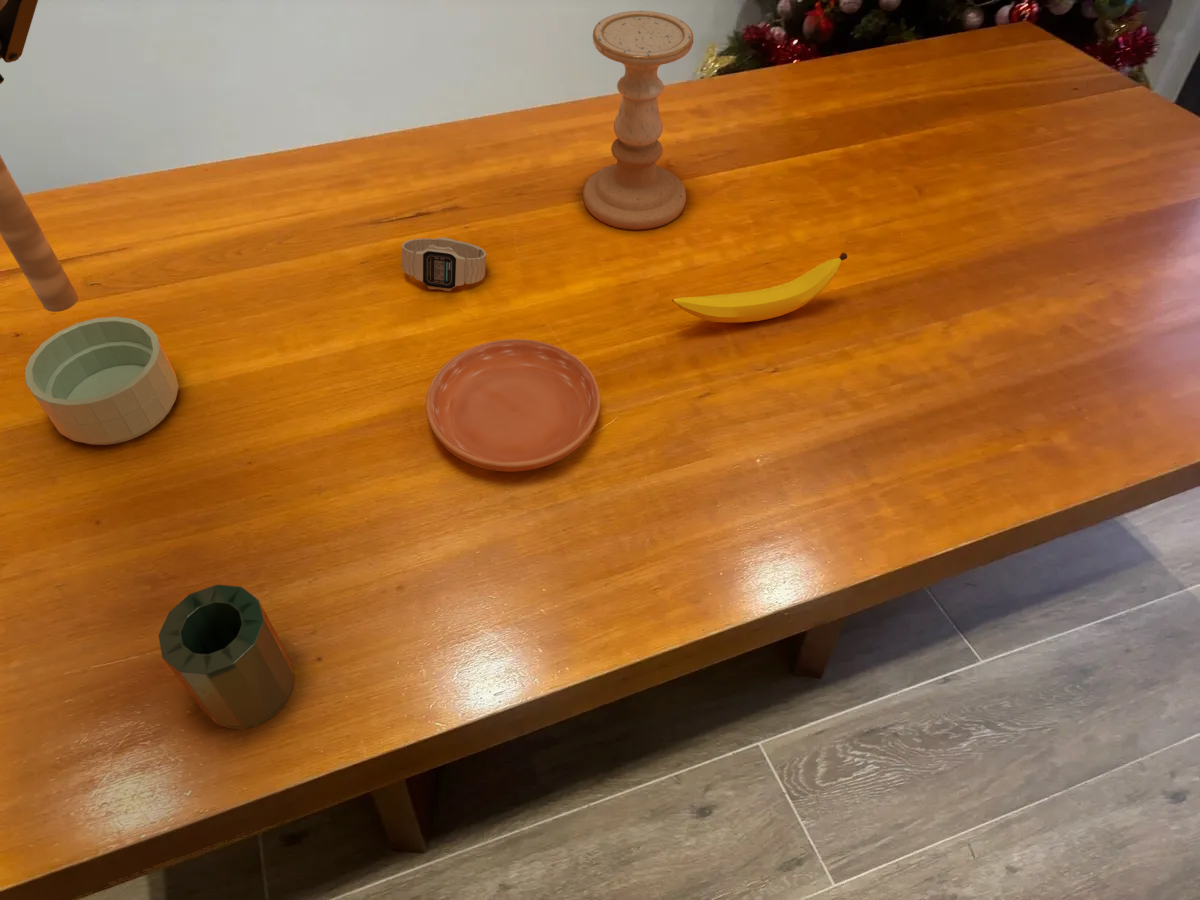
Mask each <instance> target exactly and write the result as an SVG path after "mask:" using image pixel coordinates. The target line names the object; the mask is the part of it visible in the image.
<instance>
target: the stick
mask: <svg viewBox="0 0 1200 900" xmlns="http://www.w3.org/2000/svg"><path fill="white" fill-rule="evenodd" d="M0 236H1V238H2V240H3V241H4V243H5V244H6V246H7V248H8V250H9V251H10V253H11V254H12V256H13V258H14V260H15V261H16V263H17V265H18V267H19V268H20V270H21V272H22V273H23V274H24V276H25V278H26V280H27V281H28V283H29V285H30V287H31V288H32V290H33V292H34V293H35V295H36V297H37V298H38V300H39V302H40V303H41V305H42V306H43V308H44V309H45V310H46V311H48V312H51V313H59V312H63V311H66V310H69V309H71V308H72V307H74V306H75V305H76V304H77V302H78V300H79V294H78V293H77V292H76V289H75V288H74V286H73V284H72V282H71V280H70V278H69V276H68V275H67V273H66V271H65V269H64V267H63V266H62V264H61V262H60V261H59V259H58V257H57V255H56V253H55V252H54V250H53V248H52V246H51V244H50V242H49V241H48V239H47V237H46V236H45V233H44V232H43V230H42V228H41V226H40V224H39V222H38V221H37V218H36V216H35V215H34V214H33V212H32V210H31V208H30V206H29V204H28V203H27V200H26V199H25V197H24V195H23V193H22V192H21V190H20V188H19V186H18V185H17V182H16V181H15V179H14V177H13V175H12V174H11V172H10V169H8V167H7V165H6V163H5V160H4V159H3V157H2V156H1V155H0Z"/></svg>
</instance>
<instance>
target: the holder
mask: <svg viewBox="0 0 1200 900" xmlns="http://www.w3.org/2000/svg"><path fill="white" fill-rule="evenodd" d="M158 643H159V647H160V654H161V658H162V660H163V661H164V662H165V664H166V665H167V666H168V667H169V668H170V670H171V671H172V672H173V674H174V675H175V676H176V678H177V679H178V681H179V682H180V683H181V685H182V686H183V687H184V688H185V690H186V691H187V692H188V694H189V695H190V696H191V698H192V699H193V700H194V701H195V703H196V704H197V706H199V708H200V709H201V710H202V712H203V713H204V714H206V715H207V716H208V718H209V719H210V720H212V722H214V724H216V725H218V726H220V727H223V728H226V729H231V730H246V729H251V728H255V727H257V726H260V725H262V724H264V723H266V722H268V721H269V720H270V719H272V718H273V717H274V716H276V715H277V714H278V713H279V712H280V711H281V710H282V709H283V708H284V707H285V705H286V704H287V702H288V700H289V699H290V697H291V695H292V693H293V690H294V686H295V672H294V668H293V665H292V663H291V660H290V657H289V654H288V653H287V651H286V649H285V647H284V644H283V643H282V641H281V639H280V637H279V636H278V634H277V632H276V630H275V628H274V626H273V624H272V622H271V621H270V618H269V616H268V615H267V612H266V611H265V609H264V607H263V604H261V601H260V599H259V598H257V597H256V596H255V595H253V594H252V593H251V592H249V591H248V590H246V589H245V588H244V587H242V586H237V585H227V584H214V585H211V586H208V587H206V588H203V589H200V590H196V591H194V592H191V593H189V594H188V595H187V596H185V597H184V598H182V600H181V601H179V603H177V604H176V605H175V606H174V607H173V608H172V609H170V610H169V611H168V613H167V614H166V617H165V620H164V622H163V623H162V626H161V629H160V630H159V633H158Z"/></svg>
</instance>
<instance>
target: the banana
mask: <svg viewBox="0 0 1200 900" xmlns="http://www.w3.org/2000/svg"><path fill="white" fill-rule="evenodd" d="M847 258H848V254H847V253H846V252H841V254H840V256H839V257H836V258H831V259H829V260H826V261H824V262H822V263H819V264H818V265H816V266H815V267H812V268H811V269H810V270H808V271H807V272H804V274H802V275H800V276H798V277H797V278H795V279H792V280H790V281H788V282H785V283H781V284H778V285H775V286H771V287H767V288H763V289H757V290H756V289H755V290H750V291H742V292H734V293H724V294H711V295H701V296H689V297H688V296H683V297H677V298H673V299H671V300H672V303H674V304H675V305H676V306H678V308H679V309H681V310H682V311H685V312H686V313H688V314H690V315H692V316H693V317H697V318H699V319H701V320H704V321H709V322H715V323H751V322H759V321H765V320H769V319H770V320H771V319H774V318H777V317H781V316H784V315H787V314H790V313H791V312H794V311H797V310H798V309H800V308H802V307H803V306H805V305H806V304H808V303H810V302H812V300H814V299H815V298H816V297H817V296H818V295H819V294H821V292H822V291H824V289H825V288H826V287H827V286H828V285H829V284H830V282H831V281H832V280H833V278H834V277H835V276H836V274H837V273H838V270H839V269H840V266H841V264H842V262H843V261H844V260H847Z"/></svg>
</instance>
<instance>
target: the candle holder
mask: <svg viewBox="0 0 1200 900" xmlns="http://www.w3.org/2000/svg"><path fill="white" fill-rule="evenodd" d="M592 32H593V33H592V42H593V43H592V44H593V45H594V47H595V49H596V50H597V51H598V52H599V53H600V54H601V55H602V56H603V57H606V58H608V59H609V60H612V61H614V62H617V63H621V64H622V65H624V75H623V76H621V77H620V78H619V80H618V81H617V83H616V90H617V91H618V93H620V95H621V101H620V105H619V109H618V111H617V114H616V117H615V120H614V122H613V132H614V135H615V137H616V138H615V139H614V141H613V142H612V144H611V147H610V149H611V150H610V151H611V154H612V156H613V158H615V160H616V163H614V164H610V165H607V166H604V167H602V168H600V169H598V170H597V171H595V172H594V173H592V174H591V175H590V176H589V178H588V179H587V181H586V182H585V184H584V186H583V192H582V196H583V197H582V198H583V204H584V205H585V208H586V209H587V211H588V212H589V213H590V215H592V216H593V217H594V218H596V219H597V220H598V221H600V222H602V223H604V224H606V225H609V226H611V227H615V228H619V229H624V230H634V231H635V230H636V231H637V230H649V229H655V228H658V227H662V226H665V225H667V224H669V223H671V222H672V221H674V220H675V219H677V218H678V217H679V216H680V215H681V214H682V212H683V210H684V208H685V206H686V202H687V192H686V187H685V185H684V184H683V182H682V181H681V179H680V178H679V177H678V176H677V175H675V174H674V173H673V172H671V171H670V170H668V169H666V168H664V167H662V166H658V165H657V164H656V163H657V161H659V159H661V157H662V155H663V145H662V144H661V141H659V139H660V137H661V136H662V133H663V129H664V126H663V121H662V117H661V113H660V108H659V102H658V97H660V95H661V94H663V91H664V89H665V88H664V87H665V86H664V83H663V81H662V79H661V78H660V77H659V76H658V69H659V67H660V66H662V65H666V64H667V65H668V64H670V63H673V62H676V61H678V60H681V59H682V58H684V57H685V56H686V55H688V53H690V51H691V49H692V48H693V44H694V33H693V29H691V27H690V26H689V24H687V23H686V22H685V21H683V20H681V19H680V18H678V17H676V16H673V15H670V14H668V13H664V12H658V11H651V10H629V11H622V12H618V13H614V14H611V15H609V16H606V17H604V18H602V19H601V20H600V21H598V22H597V23H596V25H595V26H594V28H593V31H592Z"/></svg>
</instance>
